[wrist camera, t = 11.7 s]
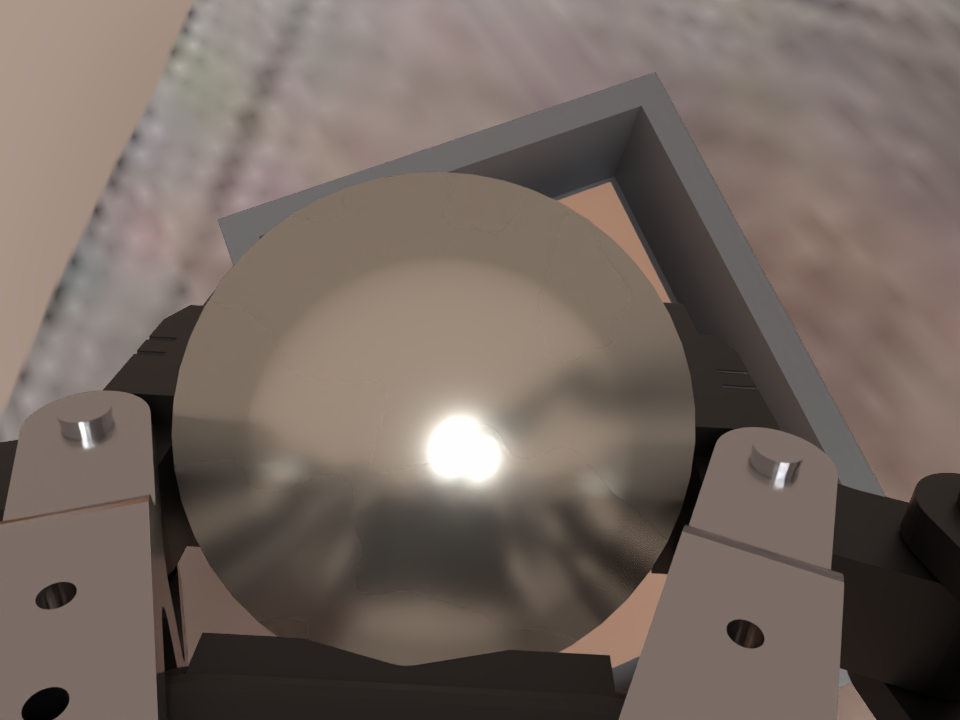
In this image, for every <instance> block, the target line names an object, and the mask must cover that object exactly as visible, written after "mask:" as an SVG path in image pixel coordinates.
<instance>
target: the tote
mask: <svg viewBox="0 0 960 720" xmlns="http://www.w3.org/2000/svg"><path fill="white" fill-rule="evenodd" d="M427 172H449V173H462V174H474V175H479V176H484V177H489V178H494V179H499V180H504V181H507V182H510V183H513V184H516V185H519V186H522V187H526V188H529V189H532V190H534V191H536V192H539V193H541V194H543V195H545V196H547V197H549V198H552V199H554V200H556V201H557V200H560V199H563V198H566V197H569V196H571V195H574V194H577V193H580V192H583V191H586V190H588V189H591V188H594V187H597V186H600V185H602V184H605V183H608V182H611V184H612V186H613V188H614V190H615V192H616V194H617V196H618V198H619V200H620V202H621V204H622V206H623V208H624V210H625V211H626V213H627V215H628V217H629V219H630V221H631V223H632V225H633V227H634V229H635V231H636V233H637V235H638V237H639V239H640V241H641V243H642V245H643V247H644V249H645V251H646V253H647V255H648V257H649V259H650V261H651V263H652V265H653V267H654V269H655V271H656V273H657V275H658V277H659V279H660V281H661V283H662V285H663V287H664V289H665V291H666V293H667V295H668V297H669V299H670V301H671V303H682V304H684V306H685V308H686V310H687V312H688V314H689V316H690V318H691V320H692V322H693V324H694V326H695V328H696V330H697V332H698V334H699V335H709V336H716V337H717V338H719V339H720V340H721V341H723V342H724V343H725V344H727V345H728V346H729V347H731V348H732V349H733V350H735V351H736V352H737V353H738V354H739V356H740V358H741V359H742V361H743V363H744V365H745V367H746V368H747V370H748V375H750V376H751V377H752V379H753V381H754V383H755V385H756V386H757V387H756V390H758V391H759V392H760V394H761V395H762V397H763V399H764V401H765V403H766V404H767V406H768V408H769V410H770V411H771V413H772V415H773V417H774V419H775V420H776V422H777V424H778V426H779V428H780V429H781V431H783V432H786V433H789V434H792V435H795V436H797V437H800V438H802V439H804V440H806V441H808V442H810V443H812V444H813V445H815V446H816V447H818V448H819V449H820V450H822V451H823V452H824V453H825V454H826V455H827V456H828V457H829V458H830V459H831V460H832V462H833V463H834V465H835V467H836V469H837V472H838V483H839V484H842V485H844V486H847V487H850V488H853V489H856V490H860V491H864V492H868V493H872V494H876V495H880V496H884V497H886V496H885V494H884V492H883V491H882V489H881V487H880V485H879V483H878V481H877V479H876V478H875V476H874V474H873V472H872V470H871V468H870V467H869V465H868V463H867V461H866V459H865V457H864V455H863V454H862V452H861V450H860V448H859V446H858V444H857V443H856V441H855V439H854V437H853V435H852V433H851V431H850V430H849V428H848V426H847V424H846V422H845V420H844V419H843V417H842V415H841V413H840V411H839V409H838V408H837V406H836V404H835V402H834V400H833V398H832V396H831V395H830V393H829V391H828V389H827V387H826V385H825V384H824V382H823V380H822V378H821V376H820V374H819V372H818V371H817V369H816V367H815V365H814V363H813V361H812V360H811V358H810V356H809V354H808V352H807V350H806V349H805V347H804V345H803V343H802V341H801V339H800V337H799V336H798V334H797V332H796V330H795V328H794V326H793V325H792V323H791V321H790V319H789V317H788V315H787V313H786V312H785V310H784V308H783V306H782V304H781V302H780V301H779V299H778V297H777V295H776V293H775V291H774V289H773V288H772V286H771V284H770V282H769V280H768V278H767V277H766V275H765V273H764V271H763V269H762V267H761V266H760V264H759V262H758V260H757V258H756V256H755V254H754V253H753V251H752V249H751V247H750V245H749V243H748V242H747V240H746V238H745V236H744V234H743V232H742V230H741V229H740V227H739V225H738V223H737V221H736V219H735V218H734V216H733V214H732V212H731V210H730V208H729V207H728V205H727V203H726V201H725V199H724V197H723V195H722V194H721V192H720V190H719V188H718V186H717V184H716V183H715V181H714V179H713V177H712V175H711V173H710V171H709V170H708V168H707V166H706V164H705V162H704V160H703V159H702V157H701V155H700V153H699V151H698V149H697V148H696V146H695V144H694V142H693V140H692V138H691V136H690V135H689V133H688V131H687V129H686V127H685V125H684V124H683V122H682V120H681V118H680V116H679V114H678V112H677V111H676V109H675V107H674V105H673V103H672V101H671V100H670V98H669V96H668V94H667V92H666V90H665V88H664V87H663V85H662V83H661V81H660V79H659V77H658V76H657V74H656V72H655V73H652V74H649V75H646V76H643V77H640V78H637V79H634V80H631V81H628V82H625V83H622V84H619V85H616V86H613V87H610V88H607V89H604V90H601V91H598V92H595V93H592V94H589V95H586V96H584V97H581V98H578V99H575V100H572V101H569V102H566V103H563V104H560V105H557V106H554V107H551V108H548V109H545V110H542V111H539V112H536V113H533V114H530V115H527V116H524V117H521V118H518V119H515V120H512V121H509V122H506V123H503V124H500V125H497V126H494V127H491V128H488V129H485V130H482V131H479V132H476V133H473V134H470V135H467V136H464V137H461V138H458V139H455V140H452V141H449V142H446V143H444V144H441V145H438V146H435V147H432V148H429V149H426V150H423V151H420V152H417V153H414V154H411V155H408V156H405V157H402V158H399V159H396V160H393V161H390V162H387V163H384V164H381V165H378V166H375V167H372V168H369V169H366V170H363V171H360V172H357V173H354V174H351V175H348V176H345V177H342V178H339V179H336V180H333V181H330V182H327V183H324V184H321V185H318V186H315V187H312V188H309V189H307V190H304V191H301V192H298V193H295V194H292V195H289V196H286V197H283V198H280V199H277V200H274V201H271V202H268V203H265V204H262V205H259V206H256V207H253V208H250V209H247V210H244V211H241V212H238V213H235V214H232V215H229V216H226V217H223V218H220V219H218V222H219V225H220V228H221V231H222V234H223V237H224V239H225V242H226V245H227V248H228V251H229V254H230V257H231V260H232V263H233V266H234V265H235V264H236V262H237V261H238V260H239V259H240V258H241V257H242V255H243V254H244V253H245V252H247V251H248V250H249V249H250V248H251V247H252V246H253V245H254V244H255V243H256V242H257V241H258V240H259V239H260V238H262V237H263V236H264V235H265V234H266V233H267V232H268V231H270V230H271V229H273V228H274V227H275V226H277V225H278V224H279V223H281V222H282V221H284V220H285V219H286V218H288V217H289V216H290V215H292V214H293V213H295V212H297V211H299V210H301V209H302V208H304V207H306V206H308V205H309V204H311V203H313V202H315V201H317V200H318V199H320V198H323V197H325V196H328V195H330V194H332V193H335V192H337V191H340V190H342V189H345V188H347V187H349V186H353V185H357V184H360V183H364V182H367V181H371V180H374V179H378V178H383V177H389V176H396V175H402V174H408V173H427ZM639 658H640V656H639V657H636V658H634V659H632V660H630V661H627V662H625V663H623V664H621V665H619V666H616V667H614V668H612V672H613V679H614V685H615V689H618V690H621V691H624V692H627V693H628V690H629V687H630V684H631V681H632V678H633V675H634V672H635V670H636V667H637V664H638V661H639ZM849 683H851V680H850V678H849V675H848V673H847V670H844V669H841V668H840V673H839V688H841V687H843V686H845V685H847V684H849Z"/></svg>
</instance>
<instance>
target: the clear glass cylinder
mask: <svg viewBox="0 0 960 720" xmlns="http://www.w3.org/2000/svg"><path fill="white" fill-rule="evenodd" d="M172 446H173V458H174V470H175V474H176V479H177V483H178V488H179V492H180V497H181V501H182V505H183V507H184V510H185V513H186V515H187V518H188V521H189V523H190V526H191V529H192V531H193V534H194V536H195V538H196V540H197V542H198V544H199V546H200V547H201V549H202V551H203V553H204V555H205V557H206V559H207V560H208V562H209V564H210V566H211V568H212V569H213V570H214V572H215V573H216V574H217V576H218V577H219V578H220V580H221V581H222V582H223V584H224V585H225V586H226V588H227V589H228V590H229V592H230V593H231V594H232V596H233V597H234V598H235V599H236V600H237V601H238V602H239V603H240V604H241V605H242V606H243V607H244V608H245V609H246V610H247V611H248V612H249V613H250V614H251V615H252V616H253V617H254V618H255V619H256V620H257V621H258V622H259V623H261V624H262V625H263V626H265V627H266V628H267V629H269V630H270V631H271V632H273V633H274V634H275V635H277V636H278V637H289V638H304V639H307V640H311V641H314V642H318V643H321V644H325V645H328V646H332V647H335V648H339V649H342V650H346V651H349V652H353V653H356V654H360V655H363V656H367V657H370V658H374V659H377V660H381V661H384V662H388V663H391V664H395V665H401V666H411V665H419V664H425V663H431V662H438V661H444V660H450V659H456V658H462V657H468V656H474V655H481V654H487V653H493V652H499V651H505V650H524V651H542V652H560V651H562V650H564V649H566V648H568V647H570V646H572V645H573V644H574V643H576V642H577V641H579V640H580V639H581V638H583V637H584V636H586V635H587V634H588V633H590V632H591V631H593V630H594V629H595V628H597V627H598V626H600V625H601V624H602V623H603V622H604V621H605V620H606V619H607V618H608V617H609V616H610V615H611V614H613V613H614V612H615V611H616V610H617V609H618V608H619V607H620V606H621V605H622V604H623V603H624V602H625V601H626V600H627V599H628V598H629V597H630V596H631V594H632V593H633V592H634V591H635V589H636V588H637V587H638V586H639V584H640V583H641V582H642V581H643V579H644V578H645V577H646V576H647V574H648V573H649V572H650V570H651V569H652V567H653V565H654V564H655V562H656V560H657V558H658V557H659V555H660V553H661V552H662V550H663V548H664V547H665V545H666V543H667V542H668V540H669V537H670V535H671V533H672V530H673V528H674V526H675V523H676V521H677V519H678V516H679V514H680V511H681V509H682V506H683V502H684V498H685V495H686V491H687V487H688V484H689V480H690V476H691V469H692V462H693V454H694V447H695V404H694V397H693V389H692V382H691V375H690V372H689V368H688V364H687V360H686V357H685V353H684V349H683V346H682V343H681V340H680V338H679V336H678V333H677V331H676V328H675V326H674V324H673V321H672V319H671V316H670V314H669V312H668V311H667V309H666V307H665V305H664V304H663V302H662V300H661V299H660V297H659V295H658V293H657V292H656V290H655V288H654V286H653V285H652V284H651V283H650V281H649V280H648V279H647V277H646V276H645V275H644V273H643V272H642V271H641V269H640V268H639V267H638V265H637V264H636V263H635V261H634V260H633V259H632V258H631V257H630V256H629V255H628V254H627V253H626V252H625V251H624V250H623V249H622V248H621V247H620V246H619V245H618V244H617V243H616V242H615V241H614V240H613V239H612V238H611V237H609V236H608V235H607V234H606V233H604V232H603V231H602V230H601V229H599V228H598V227H597V226H596V225H594V224H593V223H592V222H591V221H589V220H588V219H587V218H585V217H583V216H582V215H580V214H578V213H577V212H575V211H574V210H572V209H570V208H569V207H567V206H565V205H564V204H562V203H560V202H558V201H556V200H554V199H552V198H549V197H547V196H545V195H543V194H541V193H539V192H536V191H534V190H532V189H529V188H526V187H522V186H519V185H516V184H513V183H510V182H507V181H504V180H499V179H494V178H489V177H484V176H479V175H474V174H462V173H449V172H427V173H408V174H402V175H396V176H389V177H383V178H378V179H374V180H371V181H367V182H364V183H360V184H357V185H353V186H349V187H347V188H345V189H342V190H340V191H337V192H335V193H332V194H330V195H328V196H325V197H323V198H320V199H318V200H317V201H315V202H313V203H311V204H309V205H308V206H306V207H304V208H302V209H301V210H299V211H297V212H295V213H293V214H292V215H290V216H289V217H288V218H286V219H285V220H284V221H282V222H281V223H279V224H278V225H277V226H275V227H274V228H273V229H271V230H270V231H268V232H267V233H266V234H265V235H264V236H263V237H262V238H260V239H259V240H258V241H257V242H256V243H255V244H254V245H253V246H252V247H251V248H250V249H249V250H248V251H247V252H245V253H244V254H243V255H242V257H241V258H240V259H239V260H238V261H237V262H236V264H235V265H234V266H233V267H232V268H231V270H230V271H229V272H228V273H227V274H226V276H225V277H224V278H223V279H222V281H221V282H220V284H219V285H218V287H217V288H216V290H215V291H214V293H213V294H212V296H211V298H210V299H209V301H208V302H207V304H206V305H205V307H204V309H203V311H202V313H201V315H200V317H199V319H198V321H197V323H196V326H195V328H194V330H193V332H192V334H191V336H190V339H189V342H188V345H187V348H186V351H185V354H184V357H183V360H182V363H181V366H180V369H179V375H178V380H177V385H176V390H175V396H174V401H173V419H172Z"/></svg>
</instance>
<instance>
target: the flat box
mask: <svg viewBox="0 0 960 720" xmlns="http://www.w3.org/2000/svg"><path fill="white" fill-rule="evenodd" d="M557 201H558V202H560V203H562V204H564V205H565V206H567V207H569V208H570V209H572V210H574V211H575V212H577V213H578V214H580V215H582V216H583V217H585V218H587V219H588V220H589V221H591V222H592V223H593V224H594V225H596V226H597V227H598V228H599V229H601V230H602V231H603V232H604V233H606V234H607V235H608V236H609V237H611V238H612V239H613V240H614V241H615V242H616V243H617V244H618V245H619V246H620V247H621V248H622V249H623V250H624V251H625V252H626V253H627V254H628V255H629V256H630V257H631V258H632V259H633V260H634V261H635V263H636V264H637V265H638V267H639V268H640V269H641V271H642V272H643V273H644V275H645V276H646V277H647V279H648V280H649V281H650V283H651V284H652V285H653V286H654V288H655V290H656V292H657V293H658V295H659V297H660V299H661V300H662V302H666V303H671V301H670V299H669V297H668V295H667V293H666V291H665V289H664V287H663V285H662V283H661V281H660V279H659V277H658V275H657V273H656V271H655V269H654V267H653V265H652V263H651V261H650V259H649V257H648V255H647V253H646V251H645V249H644V247H643V245H642V243H641V241H640V239H639V237H638V235H637V233H636V231H635V229H634V227H633V225H632V223H631V221H630V219H629V217H628V215H627V213H626V211H625V210H624V208H623V206H622V204H621V202H620V200H619V198H618V196H617V194H616V192H615V190H614V188H613V186H612V184H611V182H608V183H605V184H602V185H600V186H597V187H594V188H591V189H588V190H586V191H583V192H580V193H577V194H574V195H571V196H569V197H566V198H563V199H560V200H557ZM667 575H668V574H655V573H651V570H650V572H649V573H648V574H647V576H646V577H645V578H644V579H643V581H642V582H641V583H640V584H639V586H638V587H637V588H636V589H635V591H634V592H633V593H632V594H631V596H630V597H629V598H628V599H627V600H626V601H625V602H624V603H623V604H622V605H621V606H620V607H619V608H618V609H617V610H616V611H615V612H614V613H613V614H611V615H610V616H609V617H608V618H607V619H606V620H605V621H604V622H603V623H602V624H601V625H600V626H598V627H597V628H595V629H594V630H593V631H591V632H590V633H588V634H587V635H586V636H584V637H583V638H581V639H580V640H579V641H577V642H576V643H574V644H573V645H572V646H570V647H568V648H566V649H564V650H562V651H560V653H578V654H596V655H610V659H611V665H612V668H614V667H616V666H619V665H621V664H623V663H625V662H627V661H630V660H632V659H634V658H636V657H639V656H640V655H641V652H642V649H643V646H644V643H645V640H646V637H647V634H648V631H649V628H650V625H651V622H652V619H653V616H654V613H655V610H656V607H657V604H658V601H659V599H660V596H661V593H662V590H663V587H664V584H665V581H666V578H667Z"/></svg>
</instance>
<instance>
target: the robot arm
mask: <svg viewBox="0 0 960 720" xmlns="http://www.w3.org/2000/svg"><path fill="white" fill-rule="evenodd" d="M213 293H214V292H213ZM213 293H212V294H213ZM211 296H212V295H211ZM211 296H210V297H209V299H210V298H211ZM209 299H208V300H207V301H206V302H205V304H204V305H203V306H196V305H190V306H188V307H186V308H184V309H182V310H181V311H179V312H177V313H175V314H173V315H171V316H169V317H167V318H166V319H164V320H163V321H162V322H161V324H160V325H159V326H158V327H157V328H156V329H155V331H154V332H153V333H152V334H151V335H150V336H149V337H150V338H149V340H146V341H145V342H144V343H143V344H142V346H141V347H140V348H139V349H138V350H137V354H134V355H133V356H132V357H131V358H130V359H129V361H128V362H127V363H126V364H125V365H124V366H123V368H122V369H121V370H120V371H119V372H118V373H117V375H116V376H115V377H114V378H113V379H112V380H111V381H110V383H109V384H108V385H107V386H106V387H105V388H104V390H103V391H92V392H85V393H79V394H75V395H71V396H67V397H65V398H62V399H59V400H56V401H54V402H52V403H49V404H47V405H45V406H44V407H42V408H40V409H39V410H37V411H36V412H34V413H33V414H32V415H31V416H30V417H29V418H28V419H27V420H26V421H25V422H24V424H23V425H22V427H21V430H20V434H19V439H18V440H14V441H8V442H1V443H0V720H837V710H838V692H839V673H840V668H841V669H844V670H847V673H848V675H849V678H850V680H851V682H852V684H853V685H854V687H855V689H856V690H857V692H858V693H859V695H860V696H861V698H862V699H863V700H864V702H865V703H866V705H867V706H868V708H869V709H870V711H871V712H872V714H873V715H874V717H875V718H876V720H960V474H956V473H939V474H933V475H929V476H926V477H925V478H923V479H921V480H920V481H919V482H918V483H917V485H916V488H915V490H914V493H913V495H912V497H911V500H910V502H909V503H908V502H904V501H900V500H896V499H892V498H888V497H884V496H880V495H876V494H872V493H868V492H864V491H860V490H856V489H853V488H850V487H847V486H844V485H842V484H839V483H838V472H837V469H836V467H835V465H834V463H833V462H832V460H831V459H830V458H829V457H828V456H827V455H826V454H825V453H824V452H823V451H822V450H820V449H819V448H818V447H816V446H815V445H813V444H812V443H810V442H808V441H806V440H804V439H802V438H800V437H797V436H795V435H792V434H789V433H786V432H783V431H781V429H780V428H779V426H778V424H777V422H776V420H775V419H774V417H773V415H772V413H771V411H770V410H769V408H768V406H767V404H766V403H765V401H764V399H763V397H762V395H761V394H760V392H759V391H758V390H756V387H757V386H756V385H755V383H754V381H753V379H752V377H751V376H750V375H748V370H747V368H746V367H745V365H744V363H743V361H742V359H741V358H740V356H739V354H738V353H737V352H736V351H735V350H733V349H732V348H731V347H729V346H728V345H727V344H725V343H724V342H723V341H721V340H720V339H719V338H717V337H716V336H709V335H699V334H698V332H697V330H696V328H695V326H694V324H693V322H692V320H691V318H690V316H689V314H688V312H687V310H686V308H685V306H684V304H682V303H666V302H663V304H664V305H665V307H666V309H667V311H668V312H669V314H670V316H671V319H672V321H673V324H674V326H675V328H676V331H677V333H678V336H679V338H680V340H681V343H682V346H683V349H684V353H685V357H686V360H687V364H688V368H689V372H690V375H691V382H692V389H693V397H694V404H695V447H694V454H693V462H692V469H691V476H690V480H689V484H688V487H687V491H686V495H685V498H684V502H683V506H682V509H681V511H680V514H679V516H678V519H677V521H676V523H675V526H674V528H673V530H672V533H671V535H670V537H669V540H668V542H667V543H666V545H665V547H664V548H663V550H662V552H661V553H660V555H659V557H658V558H657V560H656V562H655V564H654V565H653V567H652V569H651V573H655V574H668V575H667V578H666V581H665V584H664V587H663V590H662V593H661V596H660V599H659V601H658V604H657V607H656V610H655V613H654V616H653V619H652V622H651V625H650V628H649V631H648V634H647V637H646V640H645V643H644V646H643V649H642V652H641V655H640V658H639V661H638V664H637V667H636V670H635V672H634V675H633V678H632V681H631V684H630V687H629V690H628V693H627V692H624V691H621V690H618V689H615V685H614V679H613V672H612V665H611V659H610V655H596V654H578V653H560V652H542V651H524V650H505V651H499V652H493V653H487V654H481V655H474V656H468V657H462V658H456V659H450V660H444V661H438V662H431V663H425V664H419V665H411V666H401V665H395V664H391V663H388V662H384V661H381V660H377V659H374V658H370V657H367V656H363V655H360V654H356V653H353V652H349V651H346V650H342V649H339V648H335V647H332V646H328V645H325V644H321V643H318V642H314V641H311V640H307V639H304V638H289V637H271V636H253V635H235V634H217V633H202V635H201V638H200V640H199V642H198V645H197V647H196V650H195V652H194V654H193V657H192V659H191V661H190V664H189V663H188V652H187V640H186V629H185V617H184V606H183V594H182V583H181V577H180V571H179V566H178V562H179V560H180V558H181V556H182V554H183V552H184V550H185V548H186V546H195V547H200V546H199V544H198V542H197V540H196V538H195V536H194V534H193V531H192V529H191V526H190V523H189V521H188V518H187V515H186V513H185V510H184V507H183V505H182V501H181V497H180V492H179V488H178V483H177V479H176V474H175V470H174V458H173V446H172V419H173V401H174V396H175V390H176V385H177V380H178V375H179V369H180V366H181V363H182V360H183V357H184V354H185V351H186V348H187V345H188V342H189V339H190V336H191V334H192V332H193V330H194V328H195V326H196V323H197V321H198V319H199V317H200V315H201V313H202V311H203V309H204V307H205V305H206V304H207V302H208V301H209Z"/></svg>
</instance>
